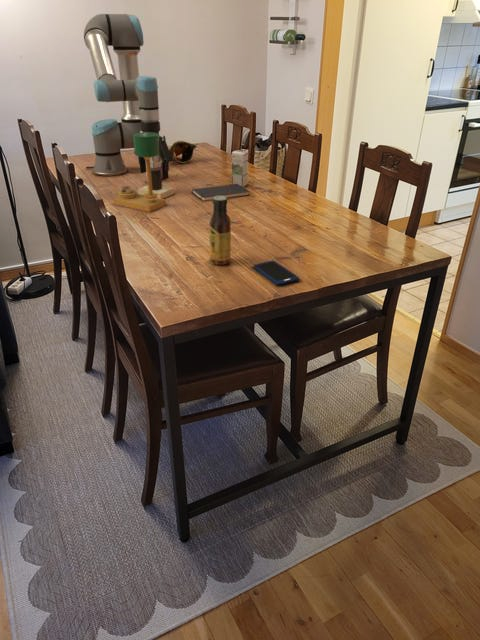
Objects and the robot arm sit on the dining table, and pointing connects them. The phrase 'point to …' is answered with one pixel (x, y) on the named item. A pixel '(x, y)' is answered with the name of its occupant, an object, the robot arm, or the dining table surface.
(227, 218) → the sauce bottle
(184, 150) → the pot
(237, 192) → the notebook
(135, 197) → the lamp base
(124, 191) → the lamp switch
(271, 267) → the cell phone
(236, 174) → the syrup box
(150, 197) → the lamp
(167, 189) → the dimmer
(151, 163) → the candy bar box
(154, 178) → the dark brown cylinder
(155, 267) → the dining table surface
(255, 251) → the dining table surface
